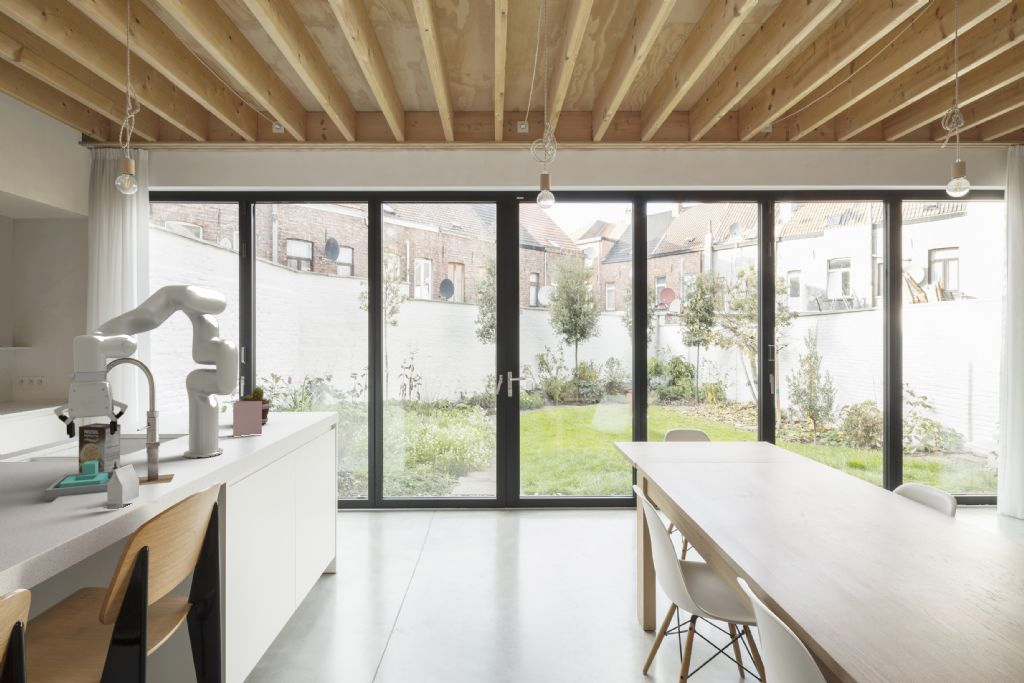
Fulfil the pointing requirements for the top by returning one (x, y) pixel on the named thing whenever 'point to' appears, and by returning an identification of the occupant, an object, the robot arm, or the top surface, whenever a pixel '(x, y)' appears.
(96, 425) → the coffee box
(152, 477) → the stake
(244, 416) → the greeting card
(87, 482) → the collar
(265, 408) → the flowerpot
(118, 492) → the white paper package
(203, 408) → the robot arm
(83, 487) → the tray
